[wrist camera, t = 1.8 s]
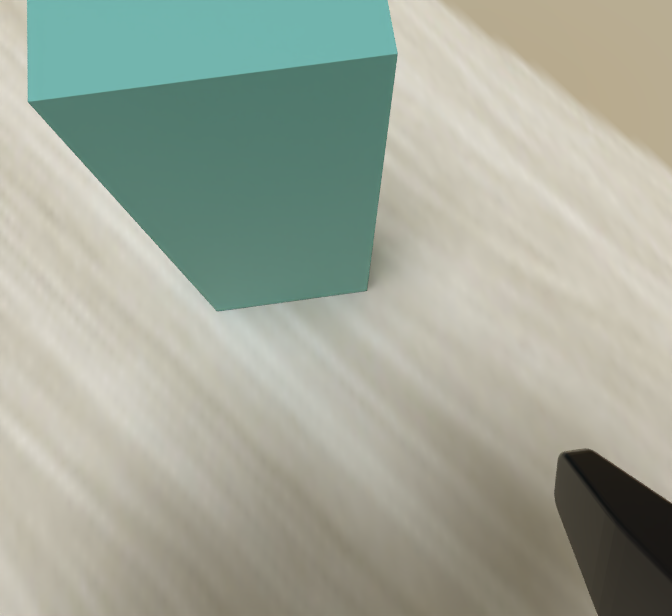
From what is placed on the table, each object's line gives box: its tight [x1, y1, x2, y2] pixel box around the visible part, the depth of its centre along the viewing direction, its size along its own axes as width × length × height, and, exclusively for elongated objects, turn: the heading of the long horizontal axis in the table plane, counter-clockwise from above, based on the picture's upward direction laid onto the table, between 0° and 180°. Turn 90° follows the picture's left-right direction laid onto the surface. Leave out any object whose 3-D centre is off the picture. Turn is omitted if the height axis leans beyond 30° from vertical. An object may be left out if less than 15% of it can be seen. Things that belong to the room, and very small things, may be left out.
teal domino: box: [27, 0, 398, 311], centre depth 16 cm, size 2×6×14 cm, turn 98°
